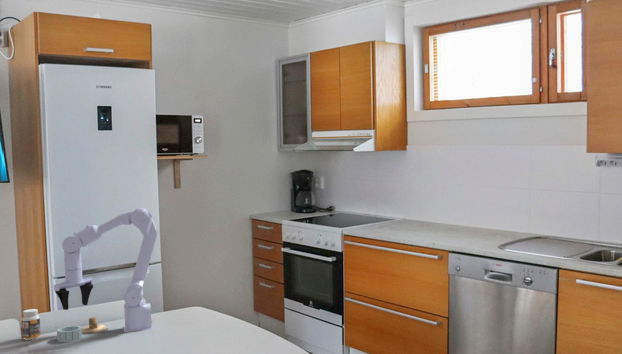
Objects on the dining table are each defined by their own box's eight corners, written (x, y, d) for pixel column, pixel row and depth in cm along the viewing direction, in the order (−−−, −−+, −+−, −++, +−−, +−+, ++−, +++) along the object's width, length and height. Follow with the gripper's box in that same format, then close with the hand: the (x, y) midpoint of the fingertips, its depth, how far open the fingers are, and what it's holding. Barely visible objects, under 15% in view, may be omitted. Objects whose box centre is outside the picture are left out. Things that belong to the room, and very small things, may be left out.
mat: (107, 326, 225) (107, 325, 225) (108, 332, 216) (108, 331, 216) (79, 329, 222) (79, 328, 222) (78, 336, 212) (78, 335, 212)
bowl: (82, 335, 214) (82, 324, 214) (81, 341, 206) (81, 330, 206) (58, 338, 211) (57, 327, 211) (56, 344, 204) (56, 333, 204)
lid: (106, 325, 225) (106, 314, 224) (106, 331, 216) (106, 319, 216) (80, 328, 222) (80, 317, 222) (79, 334, 213) (79, 322, 213)
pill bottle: (33, 341, 209) (32, 312, 209) (19, 340, 210) (17, 312, 210) (44, 336, 214) (42, 308, 214) (29, 335, 216) (28, 308, 215)
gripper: (84, 265, 223) (86, 301, 223) (48, 271, 211) (50, 310, 212) (96, 266, 219) (98, 303, 219) (59, 273, 207) (61, 312, 207)
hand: (75, 307), depth 215 cm, fingers open, 7 cm apart
